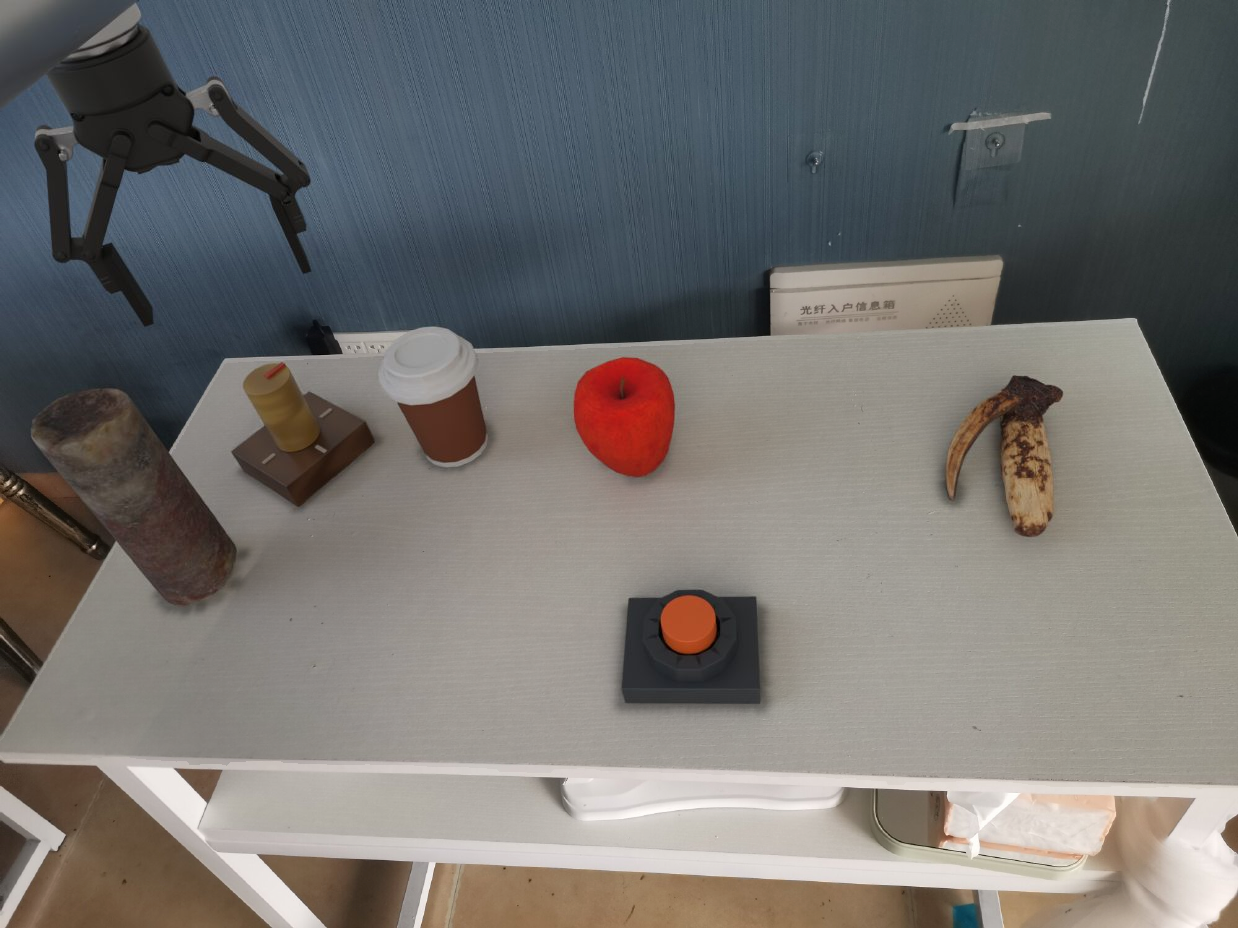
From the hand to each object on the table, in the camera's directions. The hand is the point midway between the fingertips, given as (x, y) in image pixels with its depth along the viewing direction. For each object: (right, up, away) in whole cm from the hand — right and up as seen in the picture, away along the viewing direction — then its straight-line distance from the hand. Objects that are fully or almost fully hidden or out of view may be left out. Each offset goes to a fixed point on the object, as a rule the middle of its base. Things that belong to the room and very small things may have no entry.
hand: (228, 291), depth 77 cm
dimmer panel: (+3, -14, +13) cm, 19 cm away
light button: (+39, -27, -11) cm, 49 cm away
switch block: (+39, -30, -8) cm, 50 cm away
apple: (+35, -15, +6) cm, 39 cm away
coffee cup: (+18, -13, +11) cm, 25 cm away
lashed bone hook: (+67, -15, +1) cm, 69 cm away
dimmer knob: (+2, -12, +10) cm, 16 cm away
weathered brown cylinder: (-4, -25, +4) cm, 26 cm away
